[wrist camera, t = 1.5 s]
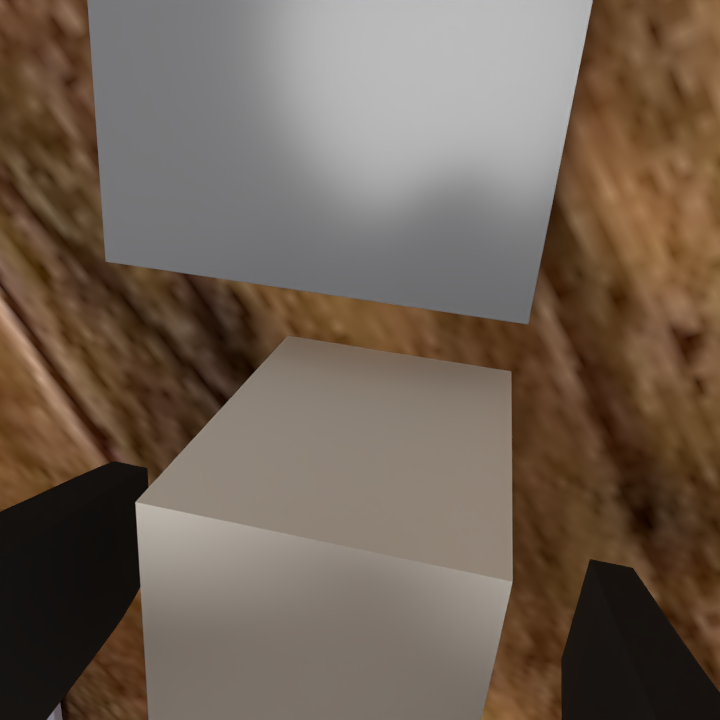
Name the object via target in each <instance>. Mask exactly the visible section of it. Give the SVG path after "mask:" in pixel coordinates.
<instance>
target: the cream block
mask: <svg viewBox="0 0 720 720" xmlns="http://www.w3.org/2000/svg"><path fill="white" fill-rule="evenodd" d="M135 504H136V521H137V537H138V554H139V570H140V586H141V603H142V619H143V636H144V652H145V669H146V685H147V702H148V718H149V720H481V719H482V714H483V710H484V706H485V701H486V697H487V692H488V688H489V684H490V679H491V675H492V670H493V666H494V662H495V657H496V653H497V649H498V644H499V640H500V635H501V631H502V627H503V622H504V618H505V613H506V609H507V605H508V600H509V596H510V592H511V587H512V583H513V543H512V382H511V371H506V370H499V369H493V368H487V367H481V366H475V365H468V364H462V363H456V362H450V361H443V360H437V359H431V358H425V357H419V356H412V355H406V354H400V353H394V352H387V351H381V350H375V349H369V348H363V347H356V346H350V345H344V344H338V343H331V342H325V341H319V340H313V339H307V338H300V337H294V336H287V337H286V338H285V339H284V340H283V341H282V343H281V344H280V345H279V346H278V347H277V348H276V349H275V350H274V351H273V352H272V353H271V355H270V356H269V357H268V358H267V359H266V360H265V361H264V362H263V363H262V364H261V365H260V367H259V368H258V369H257V370H256V371H255V372H254V373H253V374H252V375H251V376H250V377H249V379H248V380H247V381H246V382H245V383H244V384H243V385H242V386H241V387H240V388H239V389H238V391H237V392H236V393H235V394H234V395H233V396H232V397H231V398H230V399H229V400H228V401H227V403H226V404H225V405H224V406H223V407H222V408H221V409H220V410H219V411H218V412H217V413H216V415H215V416H214V417H213V418H212V419H211V420H210V421H209V422H208V423H207V424H206V425H205V427H204V428H203V429H202V430H201V431H200V432H199V433H198V434H197V435H196V436H195V438H194V439H193V440H192V441H191V442H190V443H189V444H188V445H187V446H186V447H185V448H184V450H183V451H182V452H181V453H180V454H179V455H178V456H177V457H176V458H175V459H174V460H173V462H172V463H171V464H170V465H169V466H168V467H167V468H166V469H165V470H164V471H163V472H162V474H161V475H160V476H159V477H158V478H157V479H156V480H155V481H154V482H153V483H152V484H151V486H150V487H149V488H148V489H147V490H146V491H145V492H144V493H143V494H142V495H141V496H140V498H139V499H138V500H137V501H136V502H135Z"/></svg>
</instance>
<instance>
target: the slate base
mask: <svg viewBox="0 0 720 720" xmlns="http://www.w3.org/2000/svg"><path fill="white" fill-rule="evenodd" d="M87 1H88V15H89V30H90V44H91V58H92V73H93V87H94V101H95V115H96V130H97V144H98V158H99V172H100V187H101V201H102V215H103V230H104V244H105V258H106V262H113V263H119V264H126V265H133V266H139V267H146V268H153V269H160V270H166V271H173V272H180V273H186V274H193V275H200V276H207V277H213V278H220V279H227V280H234V281H240V282H247V283H254V284H260V285H267V286H274V287H281V288H287V289H294V290H301V291H307V292H314V293H321V294H328V295H334V296H341V297H348V298H355V299H361V300H368V301H375V302H381V303H388V304H395V305H402V306H408V307H415V308H422V309H429V310H435V311H442V312H449V313H455V314H462V315H469V316H476V317H482V318H489V319H496V320H502V321H509V322H516V323H523V324H528V322H529V317H530V312H531V307H532V302H533V297H534V292H535V287H536V282H537V277H538V272H539V267H540V262H541V257H542V252H543V247H544V242H545V237H546V232H547V227H548V222H549V217H550V212H551V207H552V202H553V197H554V192H555V187H556V182H557V177H558V172H559V167H560V162H561V157H562V152H563V147H564V142H565V137H566V132H567V127H568V122H569V117H570V112H571V107H572V102H573V97H574V92H575V87H576V82H577V77H578V72H579V67H580V62H581V57H582V52H583V47H584V42H585V37H586V32H587V27H588V22H589V17H590V12H591V7H592V2H593V0H87Z"/></svg>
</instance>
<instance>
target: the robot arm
mask: <svg viewBox="0 0 720 720" xmlns="http://www.w3.org/2000/svg"><path fill="white" fill-rule="evenodd" d="M147 489H148V473H147V468H144V467H139V466H134V465H130V464H125V463H120V462H115V461H114V462H111V463H109V464H106V465H103V466H101V467H98V468H96V469H94V470H91V471H89V472H87V473H84V474H82V475H80V476H78V477H75V478H73V479H71V480H69V481H67V482H64V483H62V484H60V485H58V486H56V487H54V488H51V489H49V490H47V491H45V492H43V493H41V494H38V495H36V496H34V497H32V498H30V499H27V500H25V501H23V502H21V503H19V504H16V505H14V506H12V507H10V508H8V509H5V510H3V511H1V512H0V720H63V719H62V712H61V704H60V702H61V700H62V699H63V698H64V696H65V695H66V694H67V692H68V691H69V690H70V688H71V687H72V686H73V684H74V683H75V682H76V680H77V679H78V678H79V676H80V675H81V674H82V672H83V671H84V670H85V668H86V667H87V666H88V664H89V663H90V662H91V660H92V659H93V658H94V656H95V655H96V654H97V652H98V651H99V650H100V648H101V647H102V645H103V644H104V643H105V641H106V640H107V639H108V637H109V636H110V635H111V633H112V632H113V631H114V629H115V628H116V626H117V625H118V624H119V622H120V621H121V619H122V618H123V616H124V614H125V613H126V611H127V609H128V608H129V606H130V604H131V603H132V601H133V599H134V597H135V596H136V594H137V592H138V590H139V589H140V587H141V586H140V570H139V554H138V537H137V521H136V504H135V502H136V501H137V500H138V499H139V498H140V496H141V495H142V494H143V493H144V492H145V491H146V490H147ZM561 663H562V720H720V692H719V691H718V690H717V688H716V687H715V685H714V684H713V683H712V681H711V680H710V679H709V677H708V676H707V675H706V673H705V672H704V670H703V669H702V668H701V666H700V665H699V664H698V662H697V661H696V659H695V658H694V657H693V655H692V654H691V652H690V651H689V649H688V648H687V647H686V645H685V644H684V642H683V641H682V639H681V638H680V637H679V635H678V634H677V632H676V631H675V629H674V628H673V626H672V625H671V623H670V622H669V621H668V619H667V618H666V616H665V615H664V613H663V612H662V610H661V609H660V607H659V606H658V604H657V603H656V601H655V600H654V598H653V597H652V595H651V594H650V592H649V591H648V589H647V588H646V586H645V585H644V583H643V582H642V581H641V579H640V578H639V576H638V575H637V573H636V572H635V571H634V569H633V568H631V567H626V566H621V565H616V564H611V563H606V562H601V561H597V560H592V559H590V561H589V565H588V568H587V572H586V575H585V579H584V582H583V586H582V589H581V593H580V596H579V600H578V604H577V607H576V611H575V614H574V618H573V621H572V625H571V628H570V632H569V635H568V639H567V642H566V646H565V649H564V653H563V656H562V660H561Z"/></svg>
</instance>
